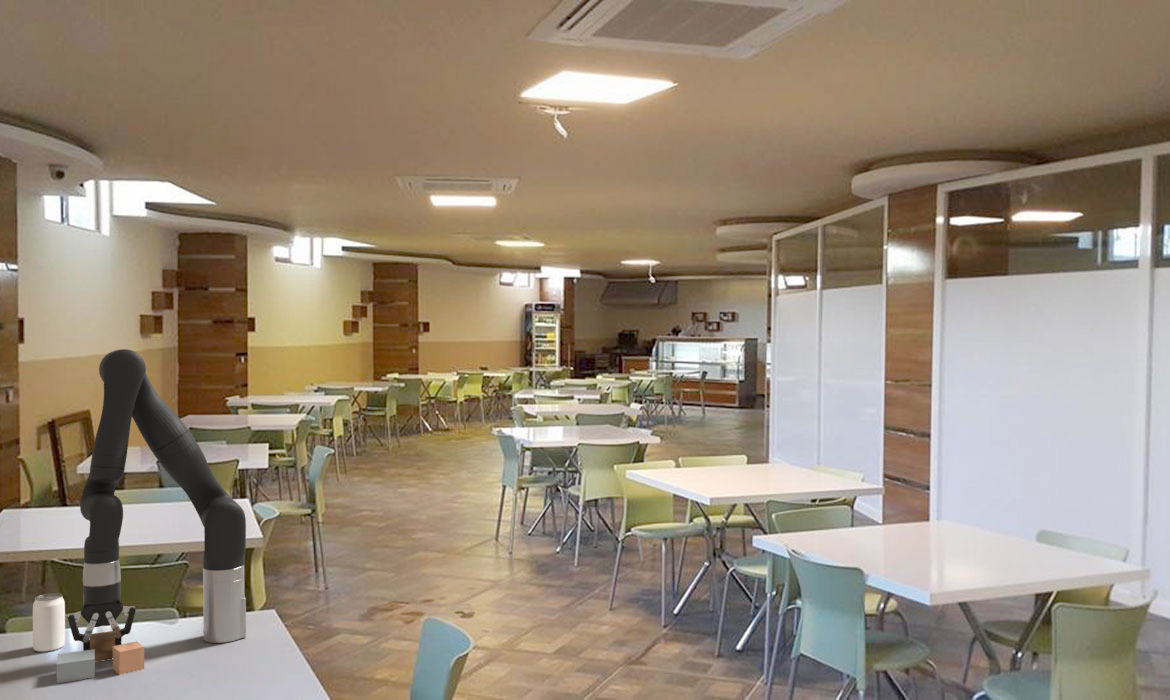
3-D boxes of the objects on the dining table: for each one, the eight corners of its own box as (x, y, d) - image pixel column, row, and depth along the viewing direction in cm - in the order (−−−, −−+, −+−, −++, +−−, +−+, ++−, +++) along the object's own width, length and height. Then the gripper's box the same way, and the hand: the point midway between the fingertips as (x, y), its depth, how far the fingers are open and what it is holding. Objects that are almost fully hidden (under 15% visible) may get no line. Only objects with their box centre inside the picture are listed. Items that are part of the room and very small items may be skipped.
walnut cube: (114, 652, 213) (114, 630, 213) (115, 659, 209) (115, 636, 209) (90, 655, 211) (90, 633, 211) (90, 662, 207) (89, 640, 207)
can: (50, 653, 213) (50, 601, 213) (26, 651, 214) (25, 599, 214) (71, 644, 219) (71, 593, 219) (47, 642, 220) (47, 592, 220)
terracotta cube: (137, 663, 206) (136, 641, 206) (144, 669, 202) (144, 646, 202) (112, 669, 203) (112, 646, 203) (119, 675, 199) (119, 652, 199)
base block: (94, 667, 204) (94, 649, 204) (94, 677, 197) (94, 658, 197) (58, 672, 200) (58, 654, 200) (56, 683, 194) (56, 664, 194)
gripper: (136, 573, 216) (137, 646, 217) (66, 580, 210) (66, 655, 210) (137, 580, 210) (138, 655, 210) (65, 588, 203) (65, 666, 203)
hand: (102, 655), depth 210 cm, fingers closed on walnut cube, 5 cm apart
